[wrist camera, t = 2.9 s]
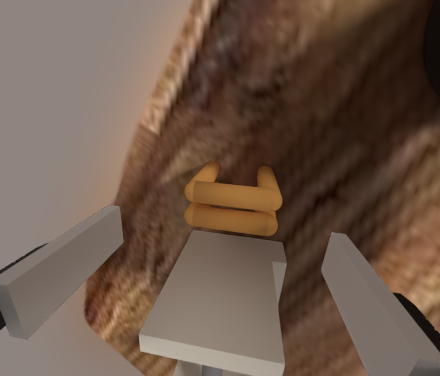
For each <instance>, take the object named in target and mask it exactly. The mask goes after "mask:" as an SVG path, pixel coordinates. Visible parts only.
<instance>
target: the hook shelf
mask: <svg viewBox="0 0 440 376" xmlns="http://www.w3.org/2000/svg"><path fill="white" fill-rule="evenodd" d="M286 266H287V261H286V256H285V252H284V247H283V243H282V242H278V241H271V240H263V239H256V238H249V237H242V236H234V235H227V234H220V233H213V232H205V231H198V230H193V231H192V233H191V235H190V237H189V239H188V241H187V242H186V244H185V246H184V248H183V250H182V252H181V254H180V256H179V258H178V260H177V262H176V263H175V265H174V267H173V269H172V271H171V273H170V275H169V277H168V279H167V281H166V283H165V285H164V286H163V288H162V290H161V292H160V294H159V296H158V298H157V300H156V302H155V304H154V306H153V307H152V309H151V311H150V313H149V315H148V317H147V319H146V321H145V323H144V325H143V327H142V329H141V330H140V332H139V343H140V351H142V352H146V353H151V354H156V355H160V356H165V357H169V358H174V359H178V362H177V365H176V368H175V372H174V375H173V376H282V375H283V371H284V367H285V359H284V352H283V344H282V336H281V328H280V320H279V312H278V304H279V299H280V294H281V290H282V285H283V280H284V276H285V271H286Z"/></svg>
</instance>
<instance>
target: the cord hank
mask: <svg viewBox="0 0 440 376" xmlns="http://www.w3.org/2000/svg"><path fill="white" fill-rule="evenodd" d="M220 171H221V166H220V164H219V163H218V162H217V161H209V162H208V163H207V164H206V165H205V166H204V167H203V168H202V169H201V170H200V171H199V172H198V174H197V175H196V176H195V177H194V178H193V179H192V180H191V181H190V182H189V183H188V184H187V185H186V187H185V196H186V198H187V199H188V200H189V201H191V204H190V205H189V207H188V208H187V210H186V211H185V215H184V217H185V220H186V222H187V223H188V224H189V225H191V226H195V227H203V228H210V229H217V230H225V231H232V232H239V233H247V234H254V235H261V236H271V235H273V234H274V233H275V232H276V231H277V228H278V223H277V218H276V214H275V211H276V210H278V209H279V208H280V207H281V205H282V196H281V193H280V190H279V187H278V184H277V181H276V178H275V175H274V173H273V170H272V168H271V167H269V166H261V167H260V168H259V169H258V171H257V181H258V186H257V187H251V186H241V185H232V184H223V183H219V182H218V181H217V180H215V179H216V178H217V176H218V174H219V173H220ZM211 205H218V206H226V207H235V208H243V209H251V210H255V212H248V211H240V210H232V209H224V208H216V207H211Z"/></svg>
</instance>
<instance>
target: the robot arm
mask: <svg viewBox="0 0 440 376" xmlns="http://www.w3.org/2000/svg"><path fill="white" fill-rule="evenodd" d="M424 59H425V66H426V71H427V74H428V77H429V79H430V82H431V84H432V86H433V87H434V89H435V90H436V92H437V93H438V94H439V96H440V0H436V1H435V4H434V6H433V8H432V11H431V14H430V17H429V21H428V24H427V29H426V34H425V42H424ZM123 243H124V240H123V232H122V223H121V214H120V206H113V205H108V206H106V207H105V208H103V209H101V210H100V211H98V212H97V213H95V214H94V215H92V216H90V217H89V218H87V219H86V220H84V221H83V222H81V223H79V224H78V225H76V226H75V227H73V228H72V229H70V230H69V231H67V232H65V233H64V234H62V235H61V236H59V237H58V238H56V239H55V240H53V241H51V242H49V243H47V244H44V245H42V246H39V247H37V248H35V249H34V250H32V251H30V252H29V253H27V254H26V255H25V256H22V257H21V258H19V259H18V260H16V261H15V262H13V263H11V264H9V265H8V266H6V267H5V268H3V269H1V270H0V330H1V329H2V328H3V327H4V326H6V327H7V329H8V332H9V334H10V336H12V337H17V338H22V339H28V338H29V337H30V336H31V335H32V334H33V333H34V332H35V331H36V330H37V329H38V328H39V327H40V326H41V325H42V324H43V323H44V322H45V321H46V320H47V319H48V318H49V317H50V316H51V315H52V314H53V313H54V312H55V311H56V310H57V309H58V308H59V307H60V306H61V305H62V304H63V303H64V302H65V301H66V300H67V299H68V298H69V297H70V296H71V295H72V294H73V293H74V292H75V291H76V290H77V289H78V288H79V287H80V286H81V285H82V284H83V283H84V282H85V281H86V280H87V279H88V278H89V277H90V276H91V275H92V274H93V273H94V272H95V271H96V270H97V269H98V268H99V267H100V266H101V265H102V264H103V263H104V262H105V261H106V260H107V259H108V258H109V257H110V256H111V255H112V254H113V253H114V252H115V251H116V250H117V249H118V248H119V247H120V246H121V245H122V244H123ZM321 272H322V274H323V277H324V279H325V281H326V283H327V285H328V288H329V290H330V292H331V294H332V297H333V299H334V301H335V303H336V305H337V308H338V310H339V312H340V314H341V317H342V319H343V321H344V323H345V325H346V328H347V330H348V332H349V334H350V336H351V339H352V341H353V343H354V345H355V348H356V350H357V352H358V354H359V356H360V359H361V361H362V363H363V365H364V368H365V370H366V372H367V374H368V376H440V334H439V332H438V331H436V330H435V329H434V327H433V326H432V324H431V323H430V322H429V321H428V320H426V319H425V316H424V315H423V314H422V313H421V312H420V310H419V309H418V308H417V307H416V306H415V305H414V304H413V303H412V302H410V301H409V300H408V299H407V298H405V297H404V296H403V295H402V294H399V293H392V292H391V290H390V289H389V288H388V287H387V285H386V284H385V283H384V282H383V280H382V279H381V278H380V277H379V275H378V274H377V273H376V272H375V270H374V269H373V268H372V267H371V265H370V264H369V263H368V262H367V260H366V259H365V258H364V257H363V255H362V254H361V253H360V251H359V250H358V249H357V248H356V246H355V245H354V244H353V243H352V241H351V240H350V239H349V238H348V236H347V235H346V234H342V233H334V232H332V233H331V236H330V240H329V243H328V247H327V250H326V254H325V257H324V261H323V264H322V268H321Z"/></svg>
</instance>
